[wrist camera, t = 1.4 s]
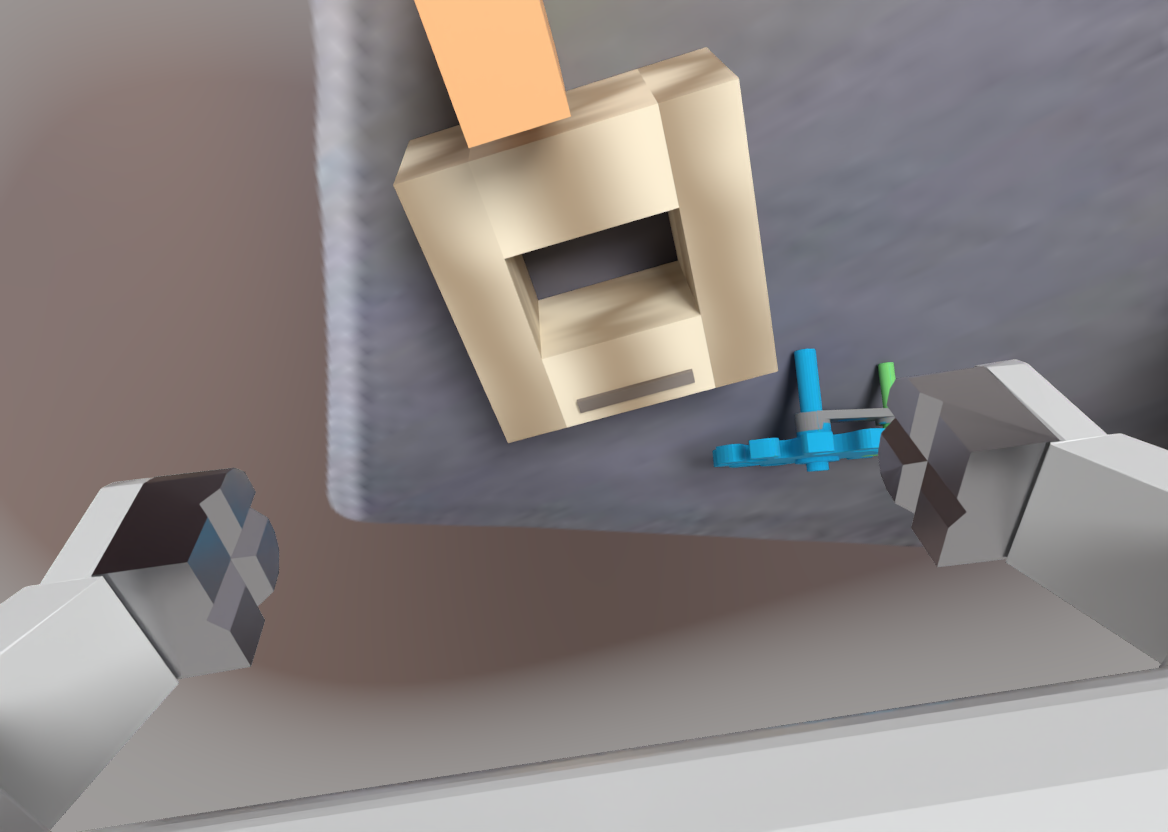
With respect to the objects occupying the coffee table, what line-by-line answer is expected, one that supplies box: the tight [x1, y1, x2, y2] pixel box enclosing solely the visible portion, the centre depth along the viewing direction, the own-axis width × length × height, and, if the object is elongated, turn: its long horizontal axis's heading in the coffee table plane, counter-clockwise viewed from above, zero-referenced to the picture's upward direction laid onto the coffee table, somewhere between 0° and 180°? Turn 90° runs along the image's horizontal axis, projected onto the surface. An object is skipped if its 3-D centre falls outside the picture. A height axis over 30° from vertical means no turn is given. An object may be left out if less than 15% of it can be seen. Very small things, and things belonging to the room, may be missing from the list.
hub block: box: [393, 47, 778, 443], centre depth 30 cm, size 12×12×5 cm
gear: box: [713, 349, 895, 472], centre depth 36 cm, size 11×6×10 cm
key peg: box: [414, 0, 571, 148], centre depth 23 cm, size 3×5×9 cm, turn 15°
